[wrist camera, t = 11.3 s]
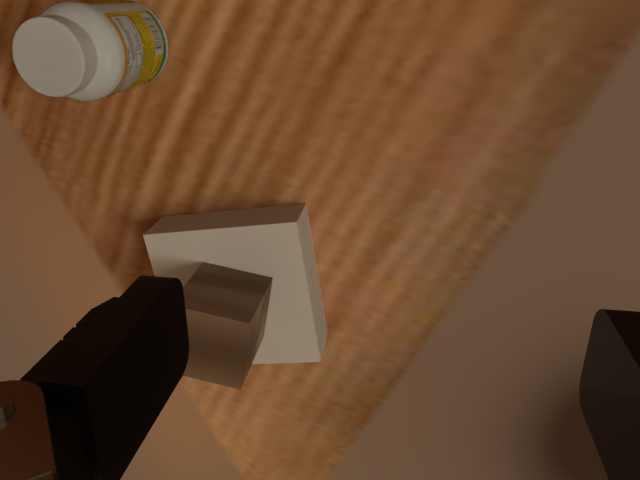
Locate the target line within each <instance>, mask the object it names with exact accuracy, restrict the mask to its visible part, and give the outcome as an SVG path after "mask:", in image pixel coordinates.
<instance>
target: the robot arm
mask: <svg viewBox="0 0 640 480" xmlns="http://www.w3.org/2000/svg"><path fill="white" fill-rule="evenodd" d="M188 357H189V337H188V328H187V318H186V309H185V300H184V291H183V286H182V283H181V281H180V280H179V279H178V278H171V277H157V276H140V277H139V278H138V279H137V280H136V281H135V282H134V283H133V284H132V285H131V286H130V287H129V288H128V289H127V290H126V291H125V292H124V293H123V294H122V295H121V296H120V297H119V298H118V297H113V298H111V299H110V300H108V301H106V302H104V303H102V304H100V305H98V306H97V307H95V308H93V309H91V310H90V311H89V312H88V313H87V314H86V315H85V316H84V317H83V318H82V319H81V320H80V321H79V322H78V323H77V324H76V328H72V329H71V330H70V331H69V332H68V333H67V334H66V335H65V336H64V337H63V340H60V341H59V342H58V343H57V344H56V345H55V346H54V347H53V348H52V349H51V350H50V351H49V352H48V353H47V354H46V355H45V356H43V357H42V358H41V360H39V362H37V363H36V364H35V365H34V366H33V367H32V368H31V369H30V370H29V371H28V372H27V373H26V374H25V375H24V376H23V377H22V378H21V379H20V380H12V381H2V382H0V480H120V479H121V477H122V475H123V474H124V472H125V470H126V469H127V467H128V465H129V464H130V462H131V460H132V459H133V457H134V455H135V454H136V452H137V450H138V448H139V447H140V445H141V444H142V442H143V440H144V439H145V437H146V435H147V434H148V432H149V430H150V429H151V427H152V425H153V424H154V422H155V420H156V419H157V417H158V416H159V414H160V412H161V411H162V409H163V407H164V405H165V404H166V402H167V401H168V399H169V397H170V395H171V394H172V392H173V391H174V389H175V387H176V386H177V384H178V382H179V381H180V379H181V377H182V376H183V374H184V372H185V369H186V366H187V362H188ZM579 392H580V393H579V395H580V405H581V409H582V413H583V416H584V418H585V421H586V423H587V426H588V428H589V431H590V433H591V436H592V438H593V441H594V443H595V446H596V448H597V450H598V453H599V456H600V458H601V461H602V463H603V466H604V468H605V471H606V473H607V476H608V478H609V480H640V312H635V311H621V310H606V309H600V310H599V311H598V312H597V313H596V315H595V317H594V320H593V324H592V329H591V333H590V338H589V342H588V347H587V351H586V356H585V360H584V365H583V370H582V374H581V379H580V390H579Z"/></svg>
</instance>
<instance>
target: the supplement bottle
mask: <svg viewBox="0 0 640 480" xmlns="http://www.w3.org/2000/svg"><path fill="white" fill-rule="evenodd" d="M12 54H13V60H14V63H15V66H16V68H17V70H18V72H19V74H20V75H21V77H22V78H23V80H24V81H25V82H26V83H27V84H28V85H29V86H30V87H31V88H33V89H34V90H35V91H37V92H39V93H41V94H43V95H46V96H51V97H63V96H66V97H68V98H71V99H74V100H80V101H92V100H97V99H101V98H104V97H107V96H110V95H113V94H116V93H118V92H121V91H124V90H127V89H131V88H133V87H136V86H139V85H142V84H145V83H147V82H150V81H152V80H153V79H155V78H156V77H157V76H158V75H159V74H160V73H161V72H162V70H163V68H164V66H165V64H166V61H167V58H168V40H167V35H166V32H165V30H164V28H163V26H162V24H161V22H160V21H159V19H158V18H157V17H156V16H155V15H154V13H153V12H151V11H150V10H149V9H148V8H146V7H145V6H143V5H141V4H139V3H136V2H133V1H125V0H117V1H115V0H113V1H68V2H61V3H58V4H55V5H53V6H51V7H49V8H48V9H46V10H45V11H44V12H43V13H42V14H41V15H40V16H38V17H34V18H31V19H29V20H26V21H25V22H24V23H23V24H21V26H20V27H19V28H18V29H17V31H16V33H15V35H14V39H13V43H12Z"/></svg>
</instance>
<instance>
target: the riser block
mask: <svg viewBox="0 0 640 480" xmlns="http://www.w3.org/2000/svg"><path fill="white" fill-rule="evenodd" d="M143 237H144V241H145V244H146V248H147V251H148V255H149V258H150V262H151V265H152V269H153V272H154V276H157V277H171V278H178V279H179V280H180V281H181V283H182V286H183V287H184V286H185V284H186V283H187V282H188V281H189V279H190V278H191V277H192V276H193V274H194V273H195V272H196V271H197V269H198V268H199V267H200V265H201V264H202V263H203V262H206V263H211V264H215V265H219V266H224V267H228V268H232V269H237V270H241V271H246V272H250V273H254V274H259V275H263V276H267V277H272V278H273V280H272V287H271V293H270V300H269V306H268V312H267V319H266V325H265V332H264V338H263V340H262V342H261V344H260V347H259V349H258V351H257V353H256V356H255V358H254V360H253V362H252V364H271V363H300V362H321V359H322V355H323V351H324V347H325V343H326V339H327V335H328V334H327V328H326V322H325V316H324V310H323V304H322V298H321V292H320V286H319V279H318V273H317V267H316V261H315V255H314V249H313V243H312V237H311V231H310V225H309V219H308V212H307V206H306V203H305V204H294V205H283V206H272V207H261V208H250V209H239V210H228V211H217V212H206V213H194V214H183V215H172V216H163V217H162V218H161V219H160V220H159V221H158V222H157V223H155V224H154V225H153V226H152V227H151V228H150V229H149V230H148V231H147V232H146V233H144V234H143Z"/></svg>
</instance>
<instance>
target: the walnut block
mask: <svg viewBox="0 0 640 480" xmlns="http://www.w3.org/2000/svg"><path fill="white" fill-rule="evenodd" d="M272 280H273V278H272V277H267V276H263V275H259V274H254V273H250V272H246V271H241V270H237V269H232V268H228V267H224V266H219V265H215V264H211V263H206V262H203V263H202V264H201V265H200V267H199V268H198V269H197V271H196V272H195V273H194V274H193V276H192V277H191V278H190V279H189V281H188V282H187V283H186V284H185V286H184V287H183V291H184V300H185V309H186V318H187V328H188V337H189V357H188V362H187V366H186V369H185V372H184V374H183V376H187V377H192V378H196V379H200V380H204V381H208V382H212V383H216V384H220V385H224V386H228V387H232V388H237V389H241V387H242V385H243V383H244V380H245V378H246V376H247V374H248V371H249V369H250V367H251V365H252V362H253V360H254V358H255V356H256V353H257V351H258V349H259V347H260V344H261V342H262V340H263V338H264V332H265V325H266V319H267V312H268V306H269V300H270V293H271V287H272Z"/></svg>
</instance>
